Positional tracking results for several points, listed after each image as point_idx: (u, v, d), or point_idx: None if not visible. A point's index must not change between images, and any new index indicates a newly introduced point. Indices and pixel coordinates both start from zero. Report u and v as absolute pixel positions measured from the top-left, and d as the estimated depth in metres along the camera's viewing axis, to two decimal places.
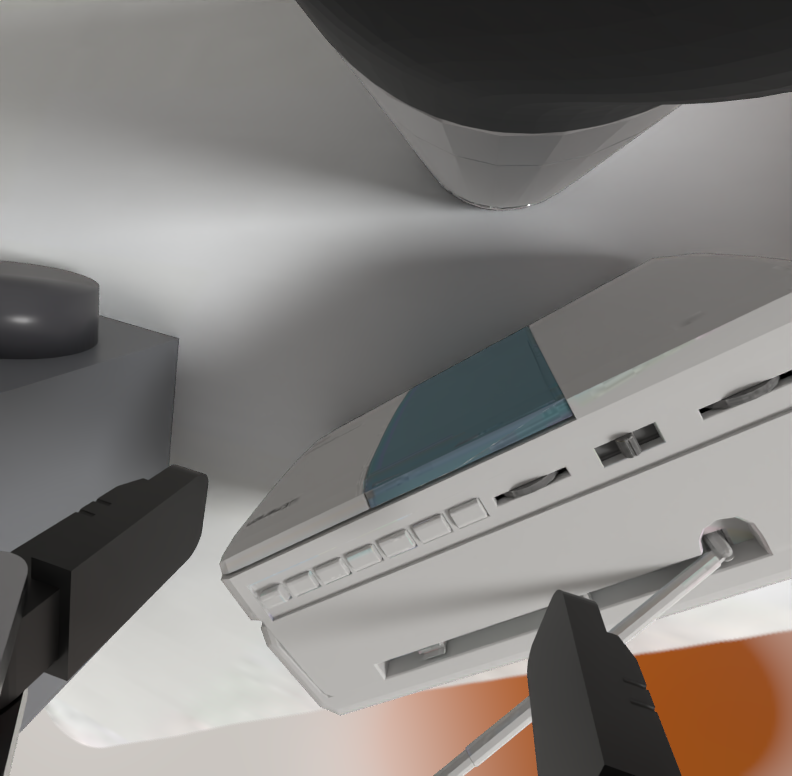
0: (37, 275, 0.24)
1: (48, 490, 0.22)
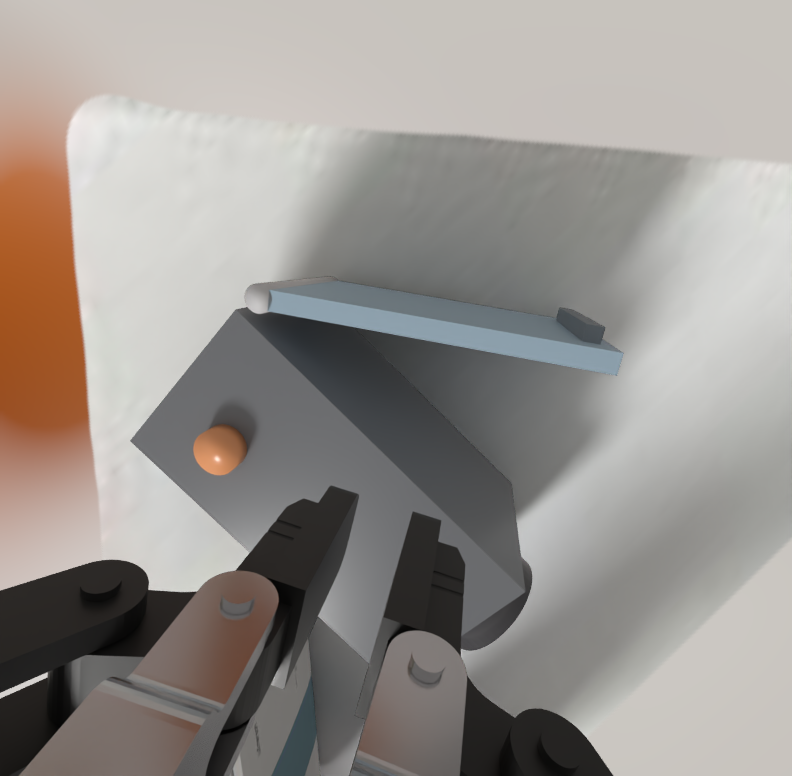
0: None
1: None
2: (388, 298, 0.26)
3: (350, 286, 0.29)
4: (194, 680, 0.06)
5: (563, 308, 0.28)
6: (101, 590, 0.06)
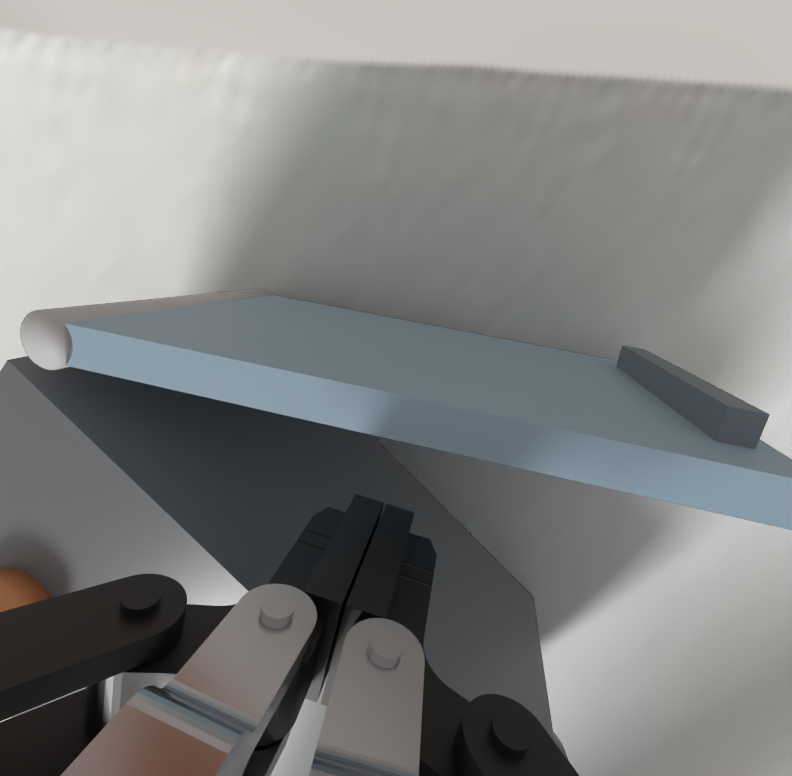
0: None
1: None
2: (333, 331, 0.15)
3: (283, 306, 0.18)
4: (229, 695, 0.06)
5: (630, 347, 0.17)
6: (141, 606, 0.06)
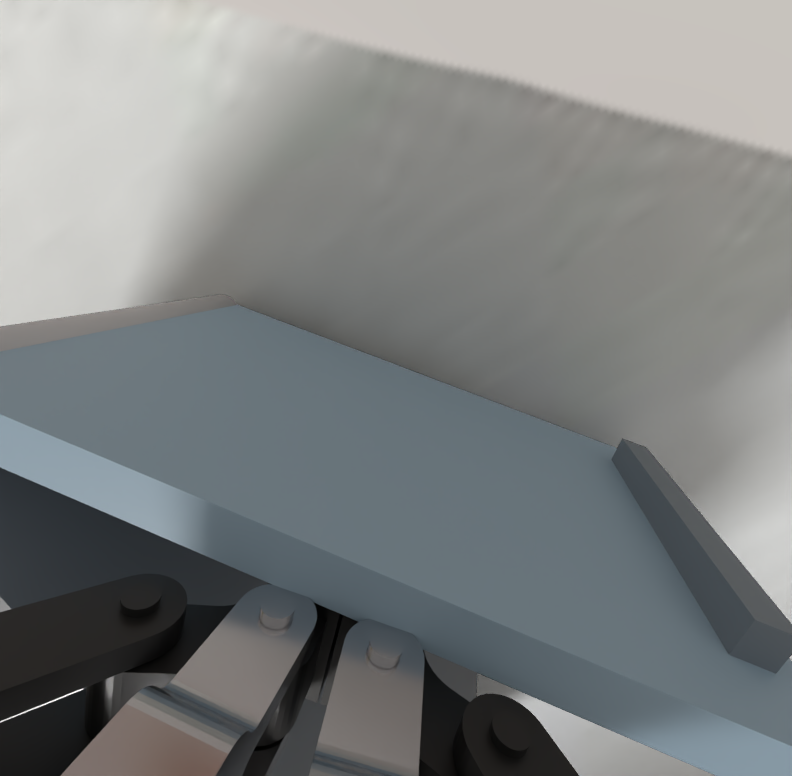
0: None
1: None
2: (287, 387, 0.12)
3: (241, 329, 0.15)
4: (229, 695, 0.06)
5: (630, 443, 0.15)
6: (141, 606, 0.06)
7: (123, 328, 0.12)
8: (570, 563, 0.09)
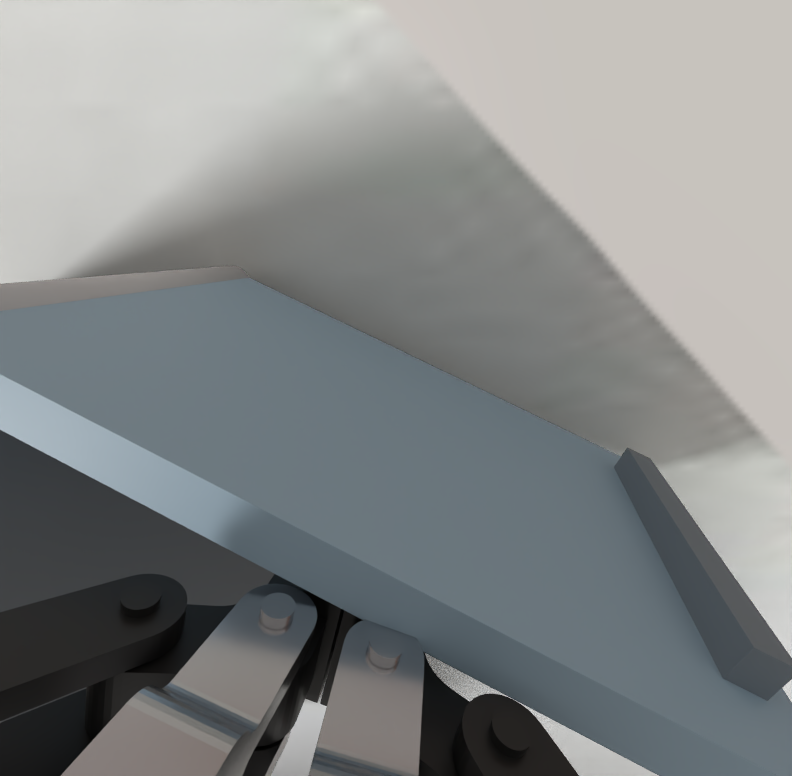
0: None
1: None
2: (297, 369, 0.12)
3: (252, 303, 0.15)
4: (229, 695, 0.06)
5: (635, 453, 0.15)
6: (141, 606, 0.06)
7: (133, 294, 0.12)
8: (572, 573, 0.09)
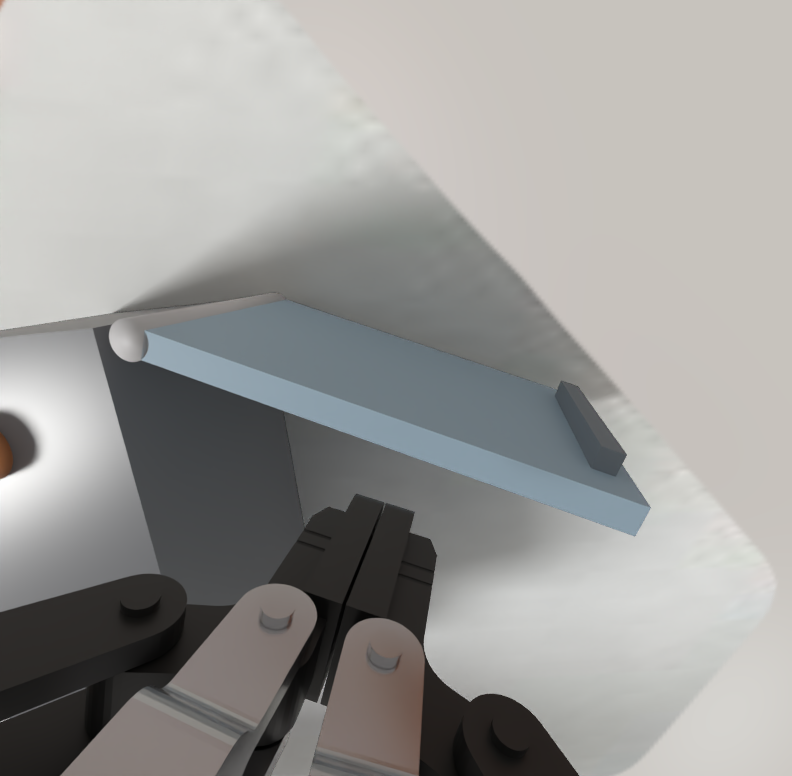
0: None
1: None
2: (335, 347, 0.19)
3: (295, 314, 0.22)
4: (229, 695, 0.06)
5: (566, 383, 0.22)
6: (141, 606, 0.06)
7: (229, 312, 0.19)
8: (508, 430, 0.16)
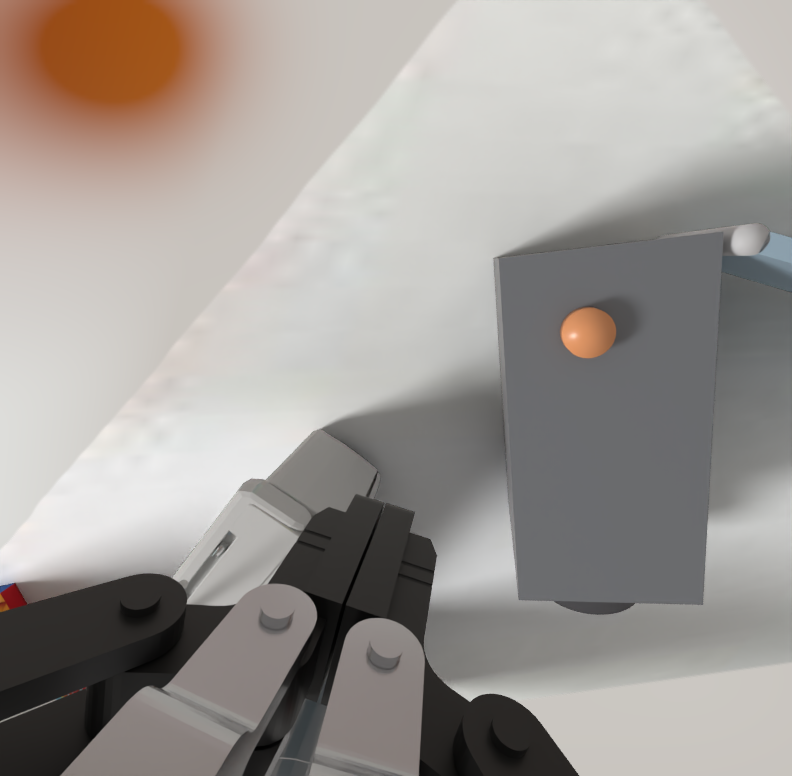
0: None
1: None
2: None
3: None
4: (229, 695, 0.06)
5: None
6: (141, 606, 0.06)
7: None
8: None
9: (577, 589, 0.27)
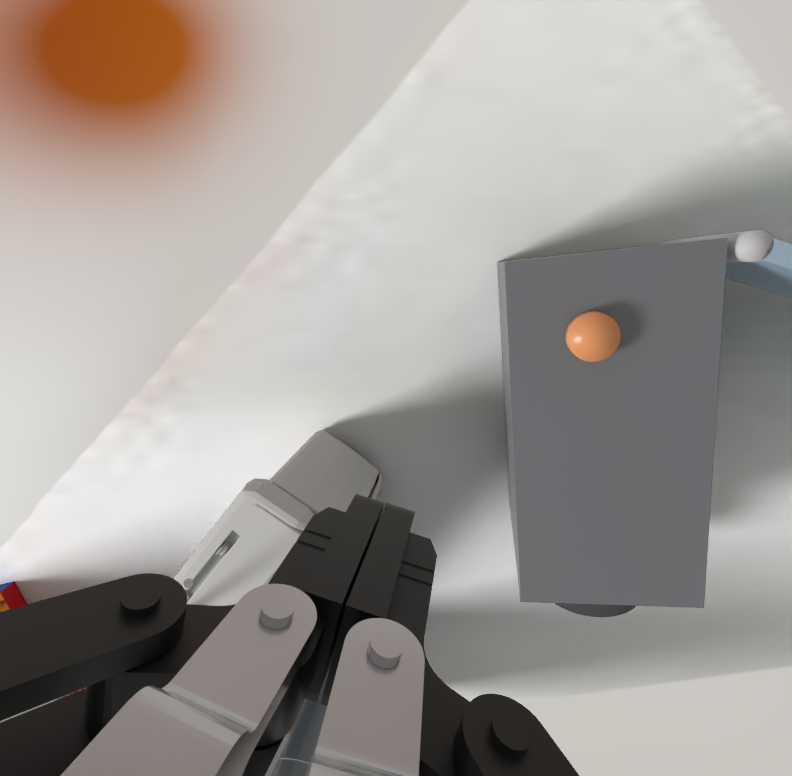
0: None
1: (513, 494, 0.29)
2: None
3: None
4: (229, 695, 0.06)
5: None
6: (141, 606, 0.06)
7: None
8: None
9: (579, 591, 0.27)
